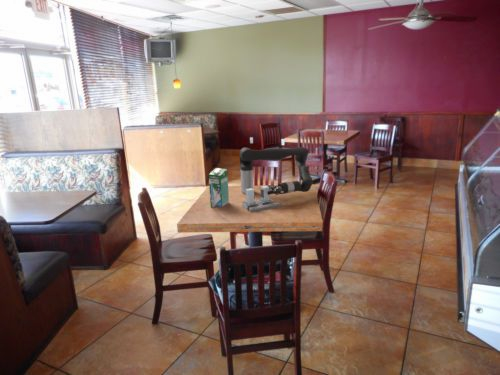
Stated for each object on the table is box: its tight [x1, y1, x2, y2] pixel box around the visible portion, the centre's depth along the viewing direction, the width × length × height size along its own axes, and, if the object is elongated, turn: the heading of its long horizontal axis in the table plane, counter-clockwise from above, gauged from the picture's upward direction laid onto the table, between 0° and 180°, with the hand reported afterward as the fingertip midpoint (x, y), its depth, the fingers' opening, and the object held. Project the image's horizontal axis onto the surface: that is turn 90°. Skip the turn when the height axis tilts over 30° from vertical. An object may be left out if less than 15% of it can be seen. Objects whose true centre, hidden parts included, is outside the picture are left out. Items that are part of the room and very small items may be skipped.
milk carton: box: [208, 167, 230, 209], centre depth 237 cm, size 9×9×25 cm
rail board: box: [240, 198, 282, 214], centre depth 233 cm, size 16×22×4 cm
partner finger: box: [245, 188, 256, 205], centre depth 231 cm, size 4×5×12 cm
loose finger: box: [260, 185, 270, 202], centre depth 235 cm, size 4×5×12 cm
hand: (264, 191), depth 234 cm, fingers open, 8 cm apart
